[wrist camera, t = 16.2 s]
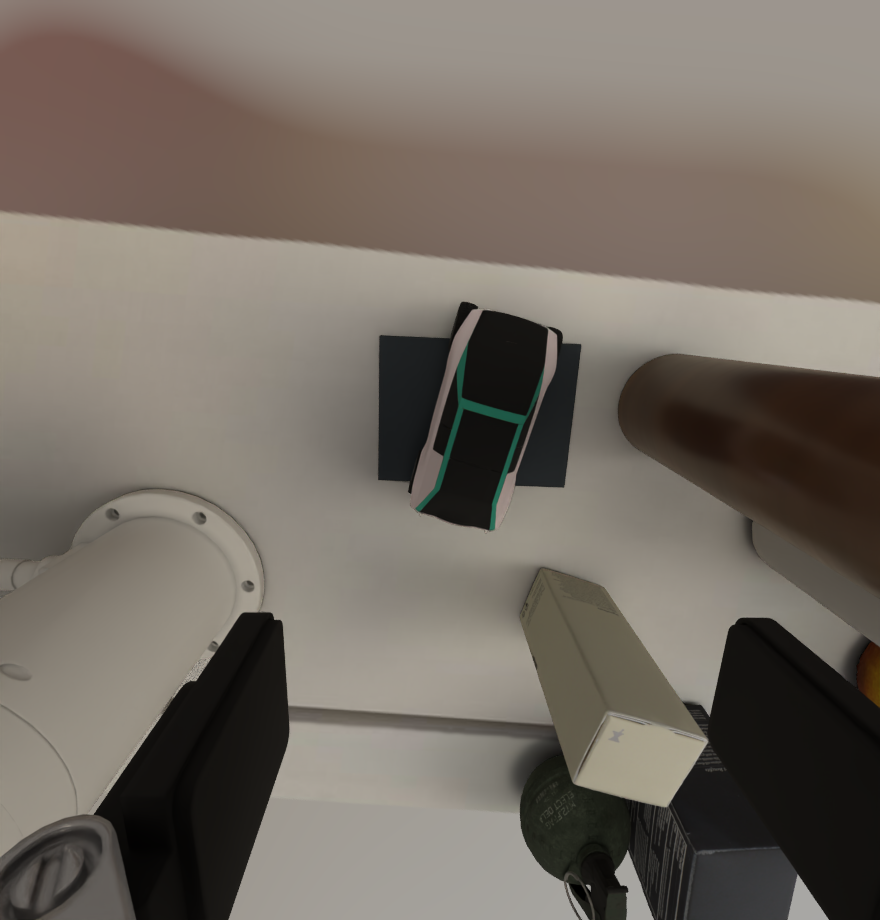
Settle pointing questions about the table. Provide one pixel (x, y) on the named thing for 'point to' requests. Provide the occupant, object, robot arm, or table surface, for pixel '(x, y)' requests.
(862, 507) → the pepper mill
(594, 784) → the box
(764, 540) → the can
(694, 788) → the small box
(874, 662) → the fruit
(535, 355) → the toy car
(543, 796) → the grenade
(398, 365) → the mat
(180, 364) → the table surface
